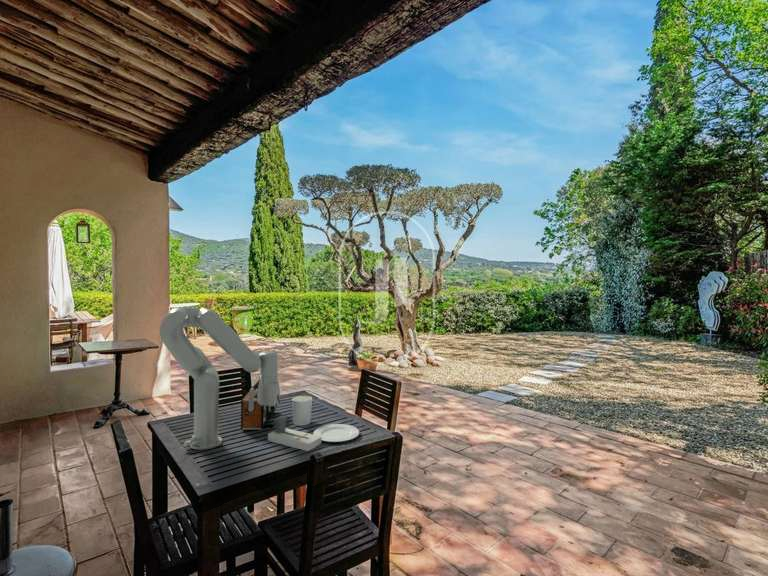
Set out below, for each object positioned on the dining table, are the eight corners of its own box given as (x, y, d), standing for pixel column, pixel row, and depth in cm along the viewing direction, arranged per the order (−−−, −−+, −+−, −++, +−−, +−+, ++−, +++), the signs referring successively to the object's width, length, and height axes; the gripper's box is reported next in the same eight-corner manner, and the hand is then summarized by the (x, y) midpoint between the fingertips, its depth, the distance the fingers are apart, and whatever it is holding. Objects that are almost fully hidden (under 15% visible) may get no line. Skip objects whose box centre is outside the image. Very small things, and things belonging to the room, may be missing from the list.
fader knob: (279, 433, 175) (279, 420, 175) (273, 432, 177) (274, 418, 176) (286, 430, 180) (286, 416, 180) (281, 428, 181) (281, 415, 181)
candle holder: (313, 425, 195) (314, 400, 195) (293, 427, 191) (293, 402, 191) (309, 418, 204) (310, 394, 204) (290, 420, 201) (290, 396, 200)
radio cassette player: (262, 432, 185) (262, 389, 184) (239, 432, 184) (239, 389, 184) (275, 411, 214) (276, 374, 214) (256, 411, 214) (256, 373, 213)
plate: (325, 449, 168) (325, 445, 168) (305, 433, 185) (306, 429, 185) (368, 439, 180) (368, 435, 180) (345, 424, 197) (345, 420, 197)
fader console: (308, 451, 166) (308, 443, 165) (267, 440, 176) (268, 433, 175) (321, 443, 174) (321, 436, 173) (281, 433, 184) (282, 426, 183)
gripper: (250, 379, 181) (251, 419, 182) (276, 383, 174) (276, 425, 175) (262, 375, 188) (263, 414, 188) (287, 379, 181) (288, 419, 181)
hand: (269, 419), depth 181 cm, fingers closed
